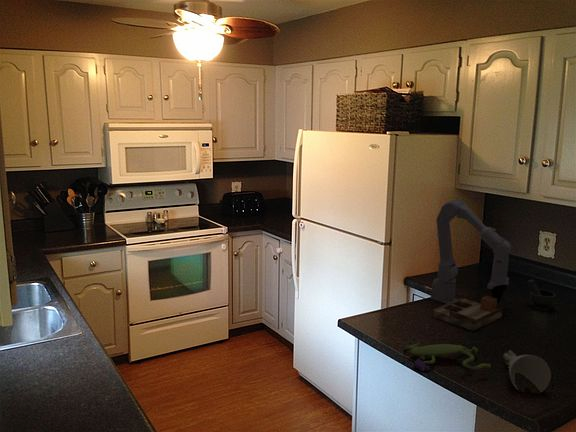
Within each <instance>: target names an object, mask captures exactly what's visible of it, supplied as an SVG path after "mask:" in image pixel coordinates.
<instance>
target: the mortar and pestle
mask: <svg viewBox="0 0 576 432" xmlns="http://www.w3.org/2000/svg"><path fill="white" fill-rule="evenodd" d="M527 284H528V285H529V287H530V289H531V290H529V299H530V300H531V302H532V303H533V305H532V308H533V309H534V310H536V311H540V312H548V311H550V306H552V305H553V304H554V303H555V301H556V299H557V294H555V292H552V291H550V290H547V289H542V288H541V289H540V288H538V286H537V284H536V283H535V279H534V278H533V279H529V280H527Z"/></svg>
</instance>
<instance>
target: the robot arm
mask: <svg viewBox="0 0 576 432" xmlns="http://www.w3.org/2000/svg"><path fill="white" fill-rule="evenodd" d="M455 217H456V219H463V220H466V221H467V222H468V223H469V224H470V225H471V226H472V227H473V228H474V229H476V231H478V233H479V237H480V238H481V239H482V240H483V242H485V243H486V245H488V246H489V247H490V248H491V249H492V253H493V254H494V255H493V263H492V270H491V277H490V278H491V279H490V280H489V282H488V283H487V286H486V288H487V289H489V290H490V291H491V295H492V296H491V297H493V298H497V304H499V303H500V302H501V299H502V296H503V294H504V292H505V291H506V290H507V288H508V285H509V284H510V277H508V271H509V270H508V269H509V263H510V261H509V260H510V259H509V258H510V253H511V251H512V244H511V243H510V241H509V240H506V239H505V238H504V237H502V236H500V234H498V233H497V232H496V231H497V229H496V228H492V227H491V226H486V225H485V224H484V222H482V220H480V218H479V217H478V216H477V215H476V214H475V213H474V212H473V211H472V210H471V209H470V207H469V206H468V205H467V204H466V203H464V201H463V200H461V199H459V198H457V199H453V200H451V201H448V202H445V203H444V204H443V205H442V206H441V208H440V211H439V213H438V215H437V216H436V228H437V241H438V247H439V257H440V260H439V263H438V271H437V274H436V275H437V277H436V278H434V279H433V281H432V283H431V292H430V297H429V299H431V300H434V301H437V302H439V303H444V305H446V304H448V303H450V302H453V301H455V300H458V299H459V298H455V295H456V284H457V279H456V277H457V276H458V274H459V273H460V272H459V268H458V266H457V264H456V260H455V259H454V254H453V245H452V233H451V224H450V223H451V222H452V220H454V218H455Z"/></svg>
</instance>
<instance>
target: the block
mask: <svg viewBox="0 0 576 432" xmlns="http://www.w3.org/2000/svg"><path fill="white" fill-rule="evenodd" d="M480 304H481V305H480V309H483V310H486V311H489V312H491V311H494V310H496V309H497V306H498V303H497V298H493V296H489V295H484V296H482V297H480Z"/></svg>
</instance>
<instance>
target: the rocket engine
mask: <svg viewBox="0 0 576 432" xmlns="http://www.w3.org/2000/svg"><path fill="white" fill-rule="evenodd" d="M503 358H504V361H505V363H506V365H507V364H508V365H509V366H508V368H509V369H508V374H509V379H510V381H511V384H512V385H513V386H514V388H515V389H516V390H518V388H517V386H516V384H515V373H520V374H522V375H524V376H525V377H526V378H527V379H529V380H530V381H531V382H532V383H533V384H535V386H536V387H537V388H538V390H540V393H542V392H544V391H545V390H546V389H547V388H548V386H549V384H551V383H550V382H551V380H552V379H551V378H552V372H551V369H550V367H549V365H548V363H547V361H545V360H544V359H543V358H541V357H539V356H538V355H533V354H532V355H531V354H522V355H516V353H514V351H513V350H511V349H510V350H508V351H507V352H505V353H503ZM518 391H519V390H518Z"/></svg>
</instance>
